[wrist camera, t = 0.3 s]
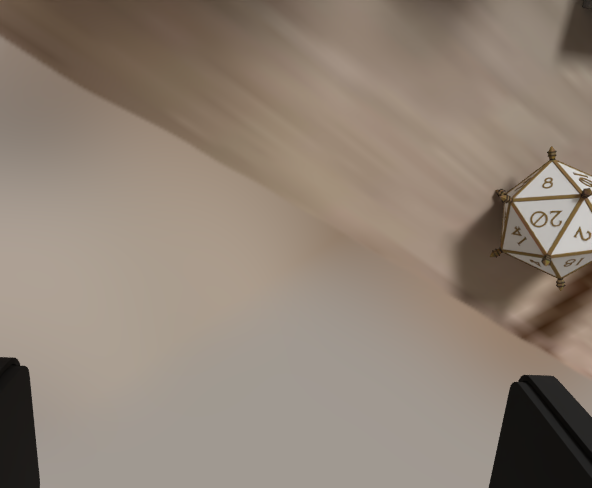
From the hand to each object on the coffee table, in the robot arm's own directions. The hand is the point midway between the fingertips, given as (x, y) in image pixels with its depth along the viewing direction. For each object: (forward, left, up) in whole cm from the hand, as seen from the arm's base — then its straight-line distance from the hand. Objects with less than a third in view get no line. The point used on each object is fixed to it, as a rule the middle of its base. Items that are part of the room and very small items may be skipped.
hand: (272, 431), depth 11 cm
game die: (+1, +20, -31) cm, 36 cm away
